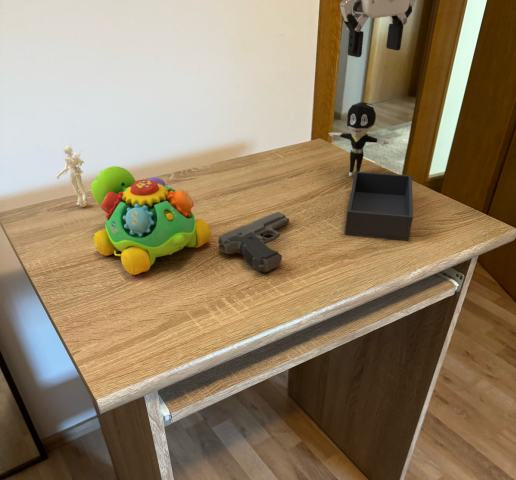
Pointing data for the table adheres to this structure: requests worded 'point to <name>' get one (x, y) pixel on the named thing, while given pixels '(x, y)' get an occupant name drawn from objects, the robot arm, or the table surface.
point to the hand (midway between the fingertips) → (374, 52)
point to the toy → (359, 132)
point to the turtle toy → (144, 219)
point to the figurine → (75, 174)
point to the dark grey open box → (380, 206)
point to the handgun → (255, 242)
